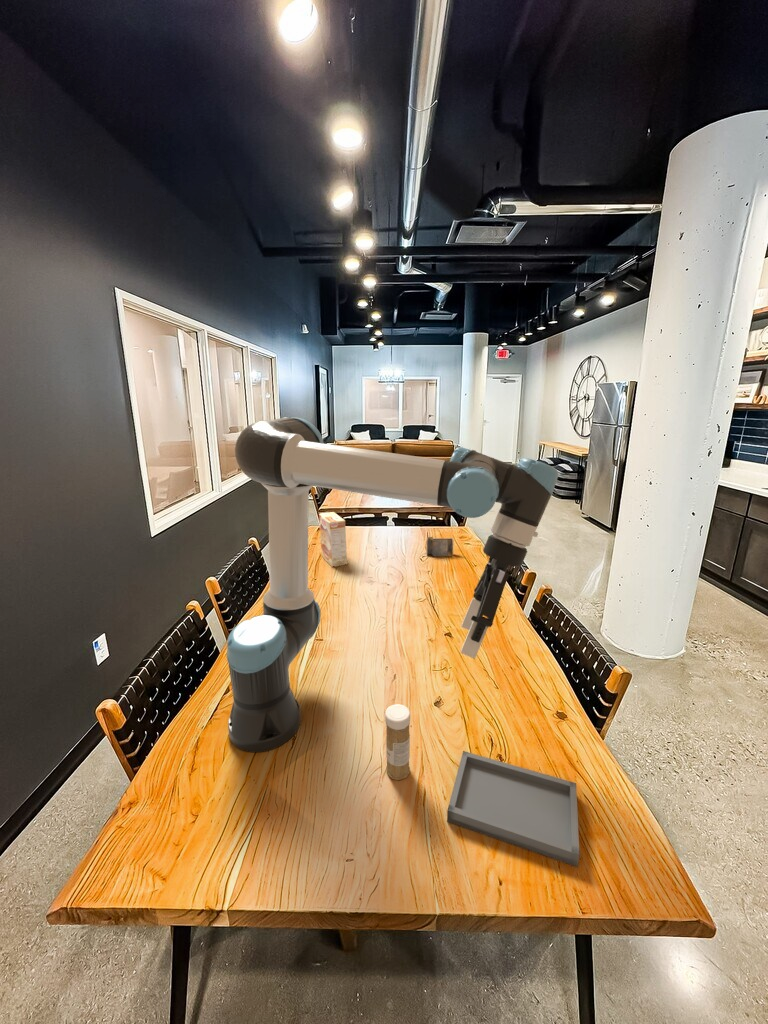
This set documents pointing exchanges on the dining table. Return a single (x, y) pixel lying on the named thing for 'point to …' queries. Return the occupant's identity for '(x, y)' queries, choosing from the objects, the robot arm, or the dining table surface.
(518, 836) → the tray
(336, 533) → the coffeecake box
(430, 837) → the dining table surface
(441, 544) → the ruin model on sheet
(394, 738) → the sprinkles bottle
